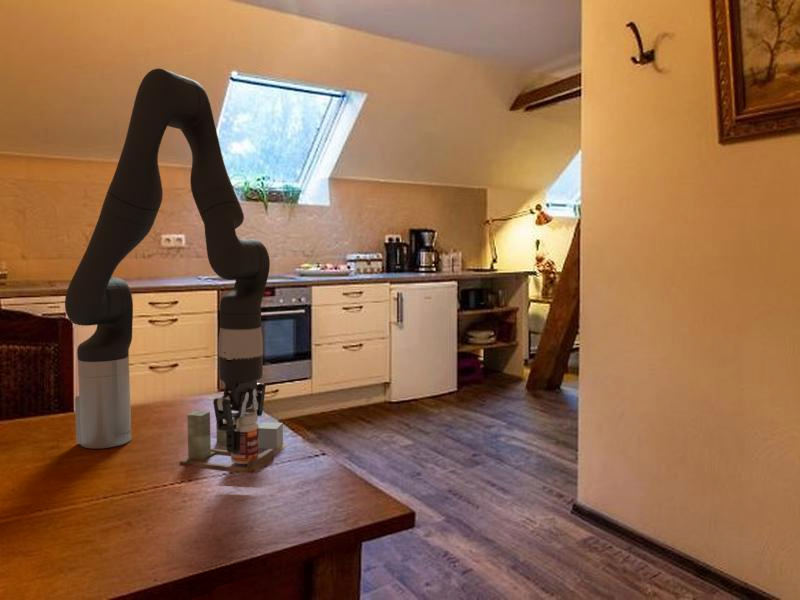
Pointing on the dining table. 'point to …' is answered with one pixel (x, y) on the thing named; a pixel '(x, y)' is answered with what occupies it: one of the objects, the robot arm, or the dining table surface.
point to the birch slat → (222, 438)
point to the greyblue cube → (270, 435)
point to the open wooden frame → (202, 449)
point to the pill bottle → (247, 439)
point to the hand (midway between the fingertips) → (241, 446)
